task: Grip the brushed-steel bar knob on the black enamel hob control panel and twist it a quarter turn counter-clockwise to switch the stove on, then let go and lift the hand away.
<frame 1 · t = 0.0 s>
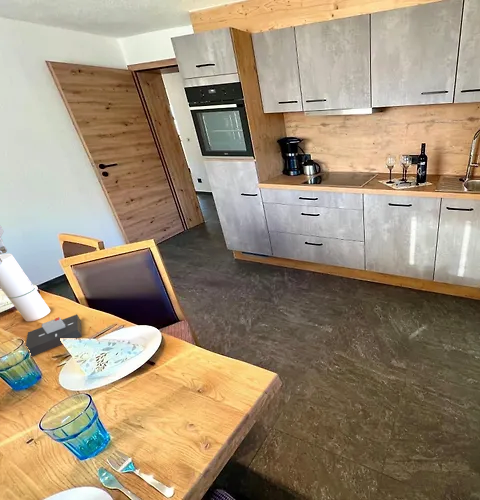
hand: (0, 258, 82), 32 cm above the table, tool pointing down, fingers open, 8 cm apart
cylindrical container: (38, 315, 111), on the table
hob panel: (57, 337, 99), on the table
stove knob: (53, 325, 97), point 5 cm above the table, hinge at 0.0°
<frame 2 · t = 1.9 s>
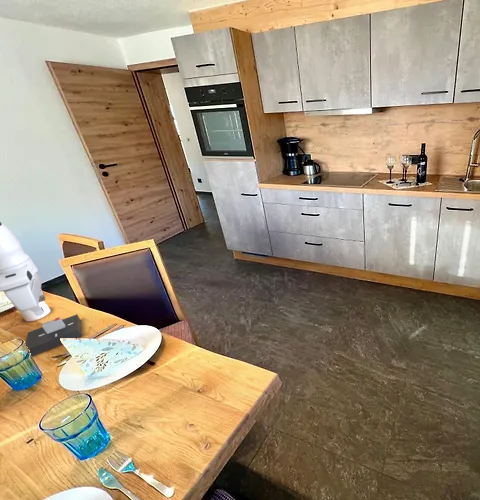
hand: (41, 307, 94), 13 cm above the table, tool pointing down, fingers open, 8 cm apart
nothing on the table moved.
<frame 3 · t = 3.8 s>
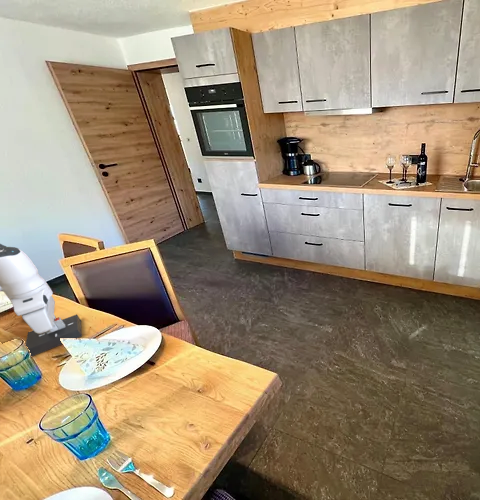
hand: (55, 327, 98), 4 cm above the table, tool pointing down, fingers closed on stove knob, 2 cm apart
stove knob: (53, 325, 97), point 5 cm above the table, hinge at 0.0°, touching gripper
everything else where it was.
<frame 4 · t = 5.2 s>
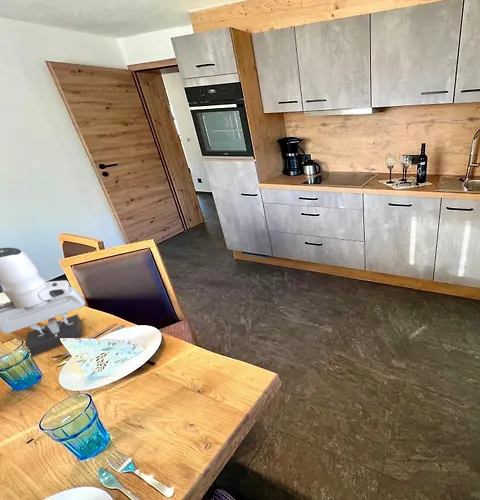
hand: (55, 327, 98), 4 cm above the table, tool pointing down, fingers open, 4 cm apart
stove knob: (53, 325, 97), point 5 cm above the table, hinge at 89.8°
everything else where it was.
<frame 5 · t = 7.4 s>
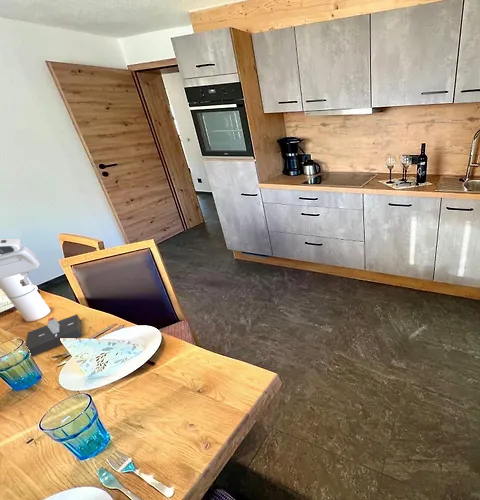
hand: (4, 291, 89), 21 cm above the table, tool pointing down, fingers open, 8 cm apart
nothing on the table moved.
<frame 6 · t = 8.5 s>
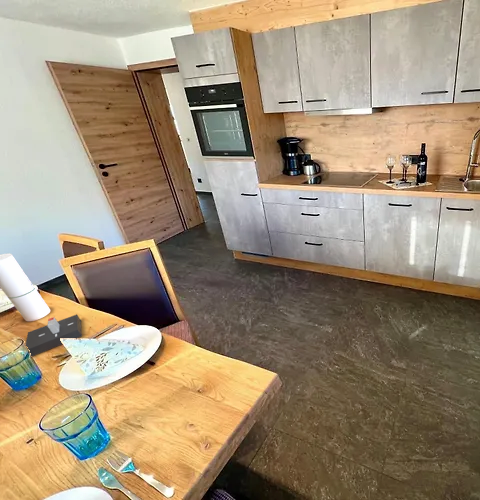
nothing on the table moved.
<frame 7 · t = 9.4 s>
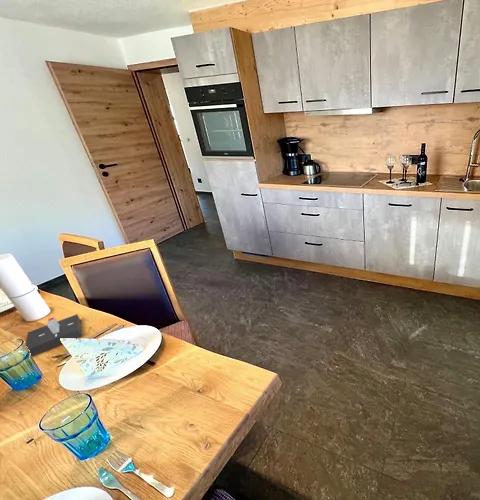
nothing on the table moved.
at the end: stove knob at +90° (first picture: +0°); the gripper is holding nothing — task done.
